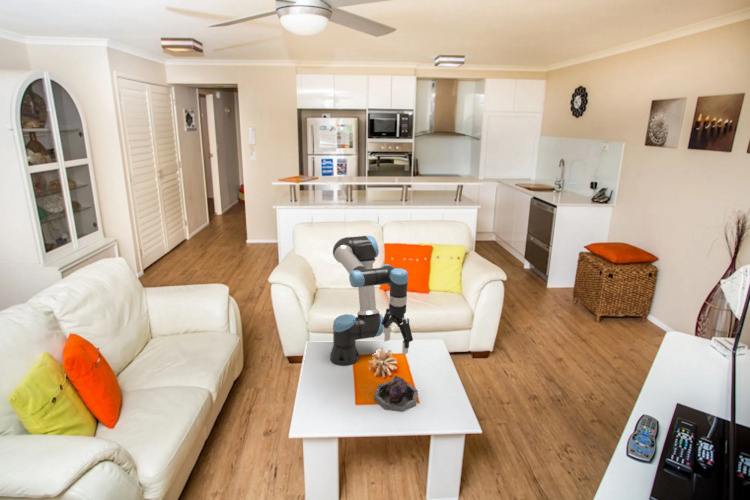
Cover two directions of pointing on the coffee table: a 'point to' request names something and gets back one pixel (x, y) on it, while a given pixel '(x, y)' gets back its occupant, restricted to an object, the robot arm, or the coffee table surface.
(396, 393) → the rock
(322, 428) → the coffee table surface
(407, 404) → the collar
